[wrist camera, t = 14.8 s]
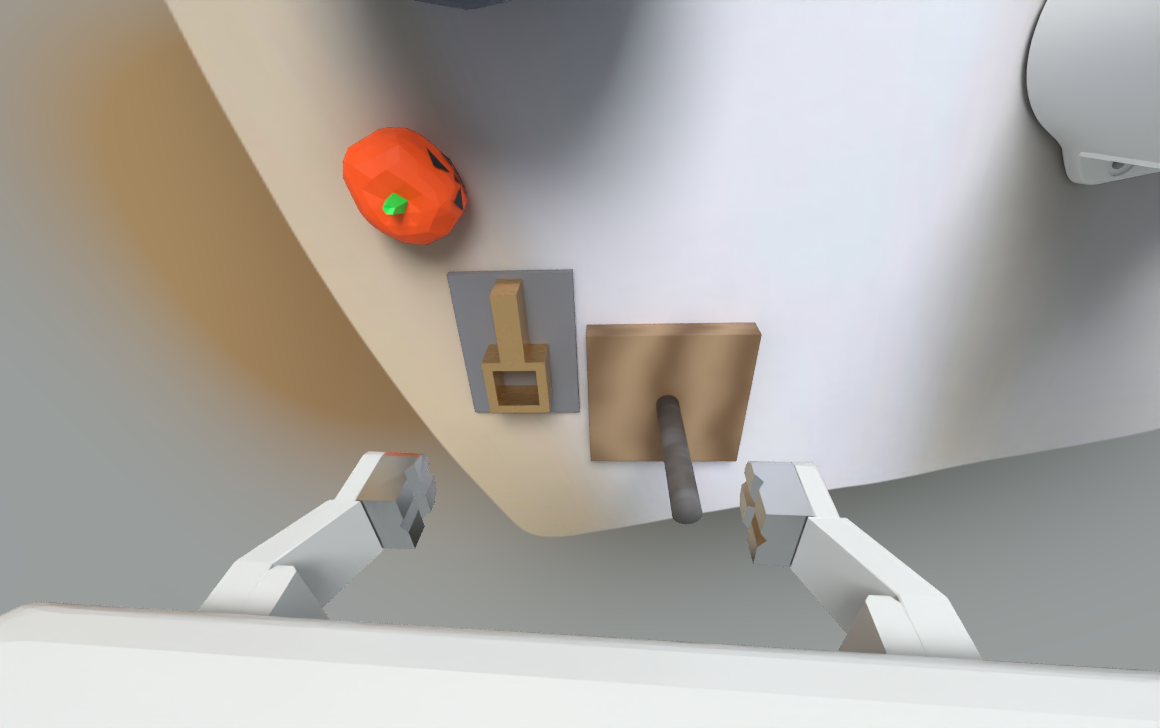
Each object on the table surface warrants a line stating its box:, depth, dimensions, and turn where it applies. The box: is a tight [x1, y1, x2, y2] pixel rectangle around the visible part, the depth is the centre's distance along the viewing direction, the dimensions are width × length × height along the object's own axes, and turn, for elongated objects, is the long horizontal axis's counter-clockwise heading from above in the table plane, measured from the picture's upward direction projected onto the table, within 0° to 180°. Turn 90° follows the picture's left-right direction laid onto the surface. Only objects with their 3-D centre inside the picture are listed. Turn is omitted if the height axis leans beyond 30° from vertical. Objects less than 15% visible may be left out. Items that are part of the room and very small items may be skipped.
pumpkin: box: [343, 127, 469, 245], centre depth 31 cm, size 7×8×6 cm
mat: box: [447, 270, 579, 412], centre depth 41 cm, size 10×14×1 cm
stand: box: [586, 323, 761, 524], centre depth 38 cm, size 14×14×14 cm
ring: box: [481, 279, 553, 413], centre depth 39 cm, size 5×11×3 cm, turn 3°
